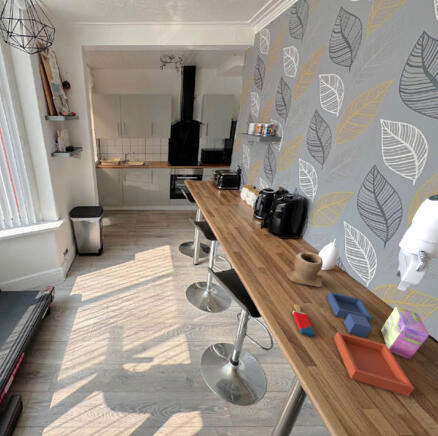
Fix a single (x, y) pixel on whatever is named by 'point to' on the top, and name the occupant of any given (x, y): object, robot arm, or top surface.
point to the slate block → (357, 325)
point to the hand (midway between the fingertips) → (400, 282)
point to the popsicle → (302, 322)
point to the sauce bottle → (329, 256)
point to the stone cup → (307, 269)
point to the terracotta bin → (372, 363)
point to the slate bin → (347, 306)
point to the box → (404, 332)
